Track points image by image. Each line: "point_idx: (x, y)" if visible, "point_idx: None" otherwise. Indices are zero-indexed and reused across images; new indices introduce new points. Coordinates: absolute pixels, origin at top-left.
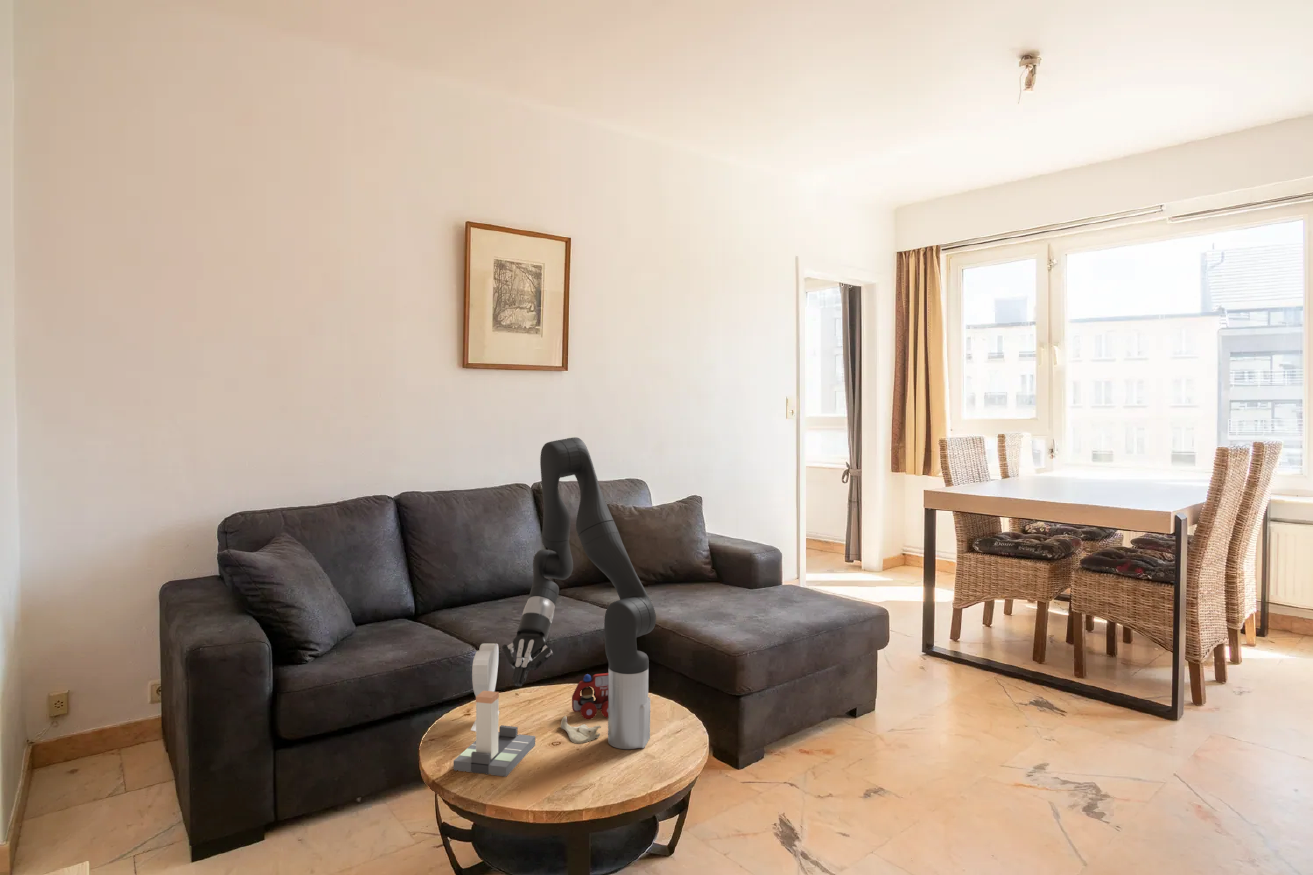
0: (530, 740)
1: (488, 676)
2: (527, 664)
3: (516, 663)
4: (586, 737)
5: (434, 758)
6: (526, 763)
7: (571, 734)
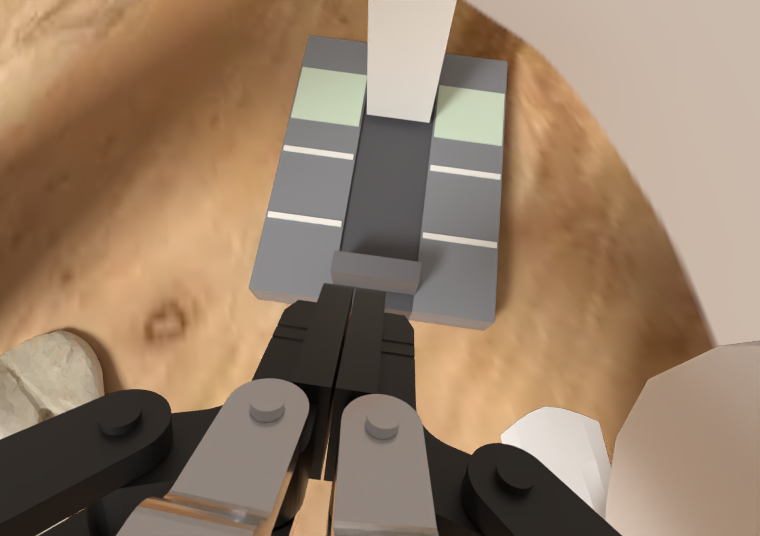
0: (262, 240)
1: (705, 435)
2: (218, 425)
3: (411, 444)
4: (9, 358)
5: (602, 152)
6: (263, 145)
7: (84, 381)
